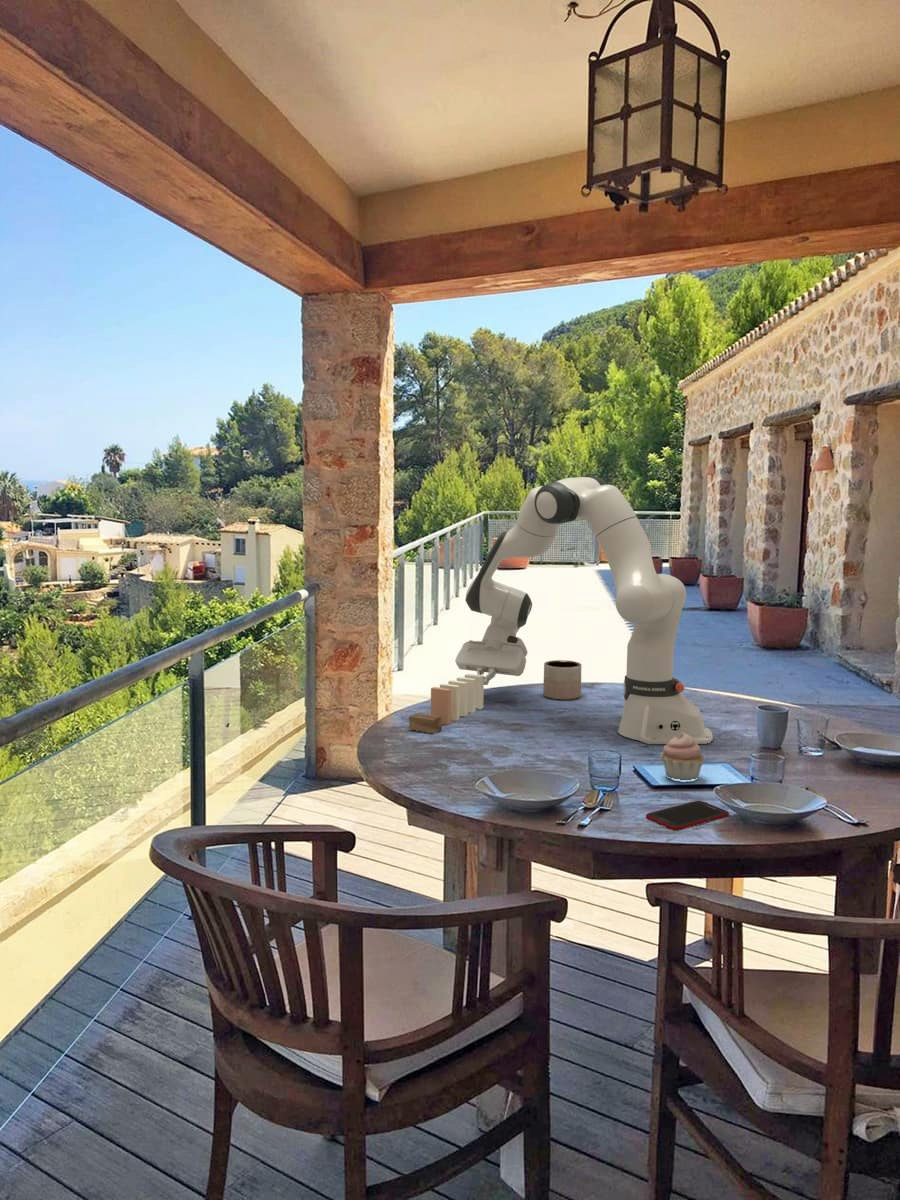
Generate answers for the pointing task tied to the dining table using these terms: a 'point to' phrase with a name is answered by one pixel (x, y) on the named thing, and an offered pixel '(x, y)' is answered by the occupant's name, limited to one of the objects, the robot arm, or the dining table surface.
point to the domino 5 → (478, 689)
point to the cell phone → (687, 815)
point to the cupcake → (682, 758)
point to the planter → (562, 679)
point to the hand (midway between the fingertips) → (481, 683)
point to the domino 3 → (462, 696)
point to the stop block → (425, 723)
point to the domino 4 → (470, 693)
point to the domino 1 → (441, 704)
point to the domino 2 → (454, 700)
